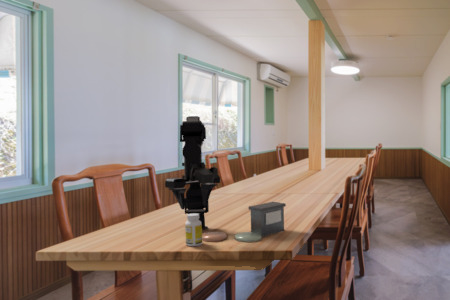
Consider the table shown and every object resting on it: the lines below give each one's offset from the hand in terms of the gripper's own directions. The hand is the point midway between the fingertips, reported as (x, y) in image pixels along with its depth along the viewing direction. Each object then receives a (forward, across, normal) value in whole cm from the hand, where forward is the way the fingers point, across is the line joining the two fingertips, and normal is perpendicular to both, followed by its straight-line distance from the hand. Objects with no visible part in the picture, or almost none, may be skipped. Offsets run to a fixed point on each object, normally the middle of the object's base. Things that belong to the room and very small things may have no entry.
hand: (194, 207), depth 122 cm
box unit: (+12, +26, -8) cm, 30 cm away
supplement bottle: (+12, 0, 0) cm, 12 cm away
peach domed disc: (+12, +9, +1) cm, 15 cm away
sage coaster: (+12, +16, -8) cm, 22 cm away
